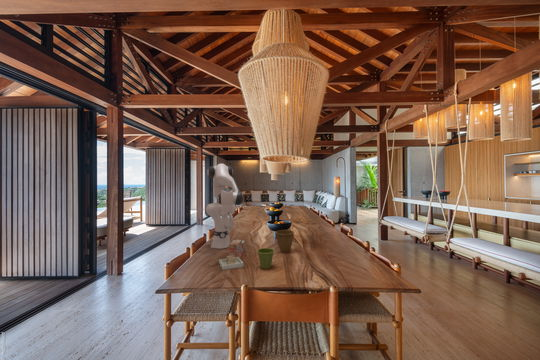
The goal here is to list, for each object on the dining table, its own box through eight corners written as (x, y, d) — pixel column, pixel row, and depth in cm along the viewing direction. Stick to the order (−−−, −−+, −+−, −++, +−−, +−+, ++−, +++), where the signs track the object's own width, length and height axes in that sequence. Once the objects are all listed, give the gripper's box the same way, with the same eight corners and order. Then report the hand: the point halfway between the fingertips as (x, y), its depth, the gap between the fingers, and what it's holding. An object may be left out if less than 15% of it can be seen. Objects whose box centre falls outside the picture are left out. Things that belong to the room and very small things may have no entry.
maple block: (226, 263, 167) (226, 256, 167) (233, 262, 168) (233, 255, 168) (228, 265, 162) (228, 258, 162) (235, 264, 164) (235, 257, 164)
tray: (218, 263, 169) (218, 259, 169) (238, 260, 174) (238, 256, 174) (222, 270, 156) (222, 265, 156) (243, 267, 161) (243, 262, 161)
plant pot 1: (258, 271, 154) (257, 253, 154) (256, 264, 166) (256, 248, 166) (276, 269, 156) (275, 252, 156) (273, 263, 168) (273, 247, 168)
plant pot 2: (277, 248, 204) (277, 229, 204) (294, 249, 201) (294, 230, 201) (274, 253, 190) (274, 233, 190) (293, 254, 187) (292, 234, 187)
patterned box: (238, 251, 197) (238, 236, 197) (245, 251, 196) (245, 236, 195) (229, 260, 176) (228, 243, 176) (237, 260, 175) (237, 244, 174)
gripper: (235, 213, 160) (235, 233, 160) (228, 209, 179) (228, 227, 179) (226, 214, 157) (226, 234, 158) (220, 209, 176) (220, 228, 177)
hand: (227, 230), depth 169 cm, fingers open, 8 cm apart
